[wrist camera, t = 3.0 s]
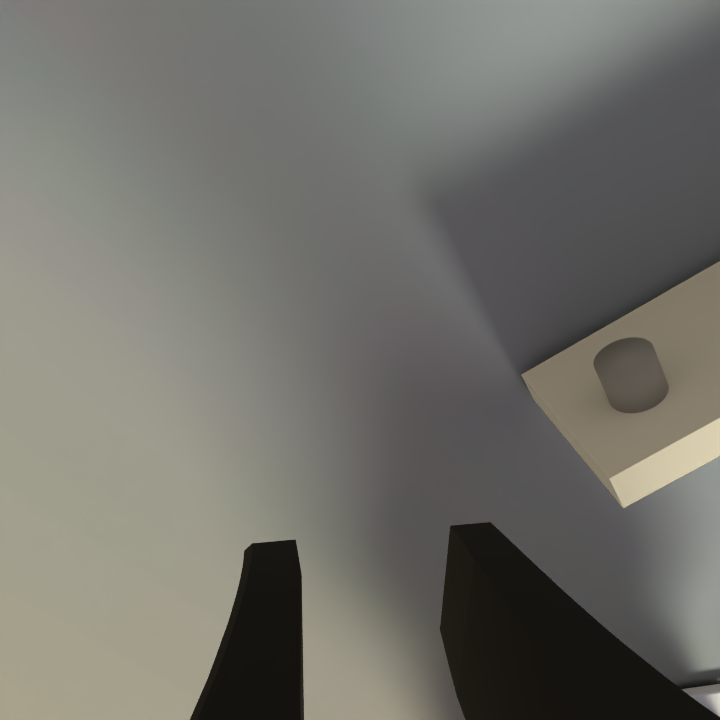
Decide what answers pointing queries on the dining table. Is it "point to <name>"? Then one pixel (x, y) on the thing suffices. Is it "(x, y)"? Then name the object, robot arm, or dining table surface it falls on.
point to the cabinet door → (642, 390)
